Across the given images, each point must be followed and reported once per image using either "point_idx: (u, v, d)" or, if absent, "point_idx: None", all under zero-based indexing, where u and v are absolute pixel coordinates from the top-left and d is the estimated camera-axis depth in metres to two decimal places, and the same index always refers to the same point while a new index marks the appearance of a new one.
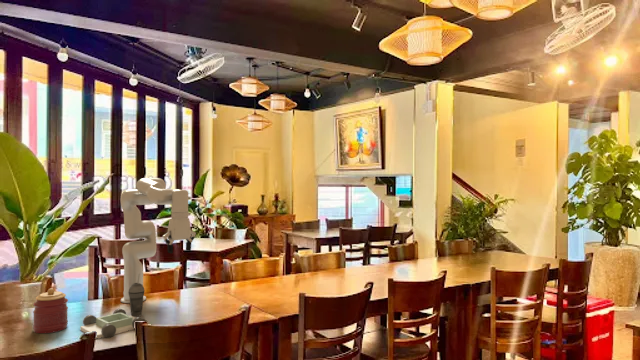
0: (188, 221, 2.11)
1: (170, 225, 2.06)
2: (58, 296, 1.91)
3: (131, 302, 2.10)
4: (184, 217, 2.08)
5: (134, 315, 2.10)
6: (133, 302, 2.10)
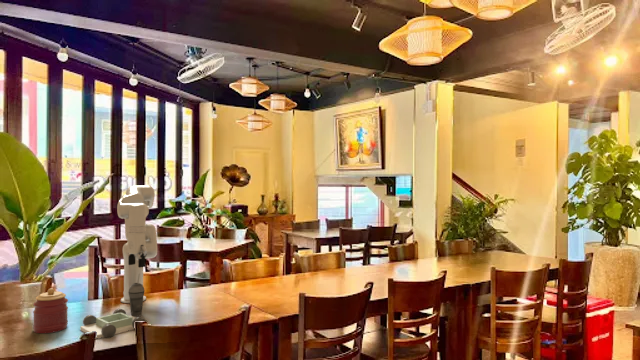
0: None
1: (142, 240, 2.10)
2: (58, 296, 1.91)
3: (131, 302, 2.10)
4: None
5: (134, 315, 2.10)
6: (133, 302, 2.10)
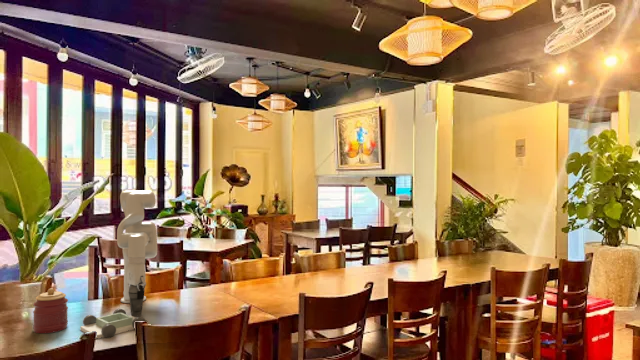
0: None
1: (142, 270, 2.10)
2: (58, 296, 1.91)
3: (131, 302, 2.10)
4: None
5: (134, 315, 2.10)
6: (133, 302, 2.10)
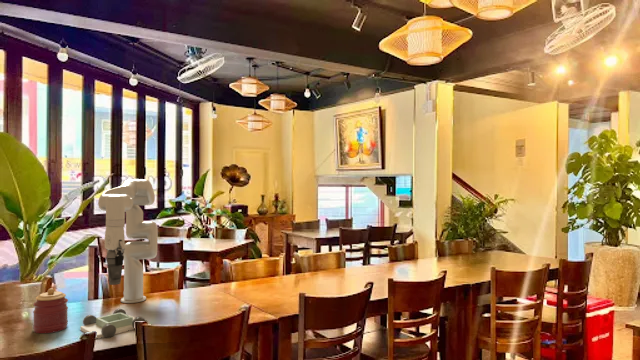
0: None
1: (121, 234, 1.92)
2: (58, 296, 1.91)
3: (109, 268, 1.92)
4: None
5: (112, 283, 1.93)
6: (111, 268, 1.92)
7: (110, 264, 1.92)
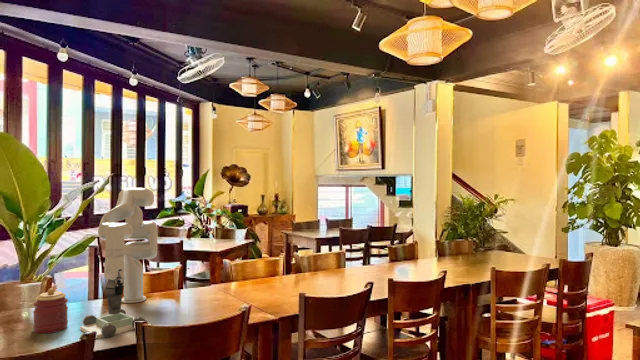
0: None
1: (120, 264, 1.92)
2: (58, 296, 1.91)
3: (109, 298, 1.92)
4: None
5: (112, 312, 1.93)
6: (111, 298, 1.92)
7: (110, 294, 1.92)
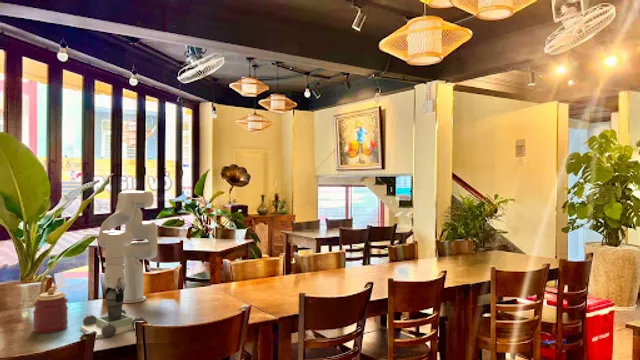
0: None
1: (120, 272, 1.92)
2: (58, 296, 1.91)
3: (109, 310, 1.92)
4: None
5: None
6: (111, 310, 1.92)
7: (110, 305, 1.92)
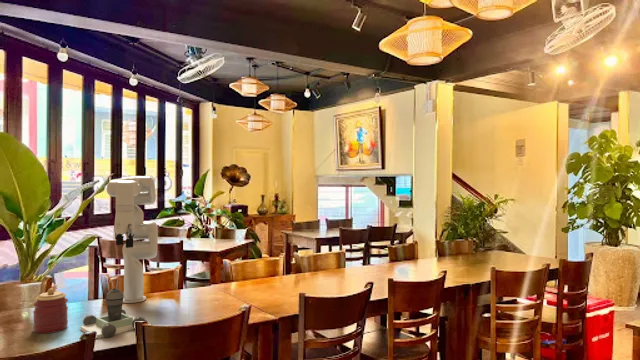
0: None
1: (130, 219, 1.99)
2: (58, 296, 1.91)
3: (109, 310, 1.92)
4: None
5: None
6: (111, 310, 1.92)
7: (110, 305, 1.92)
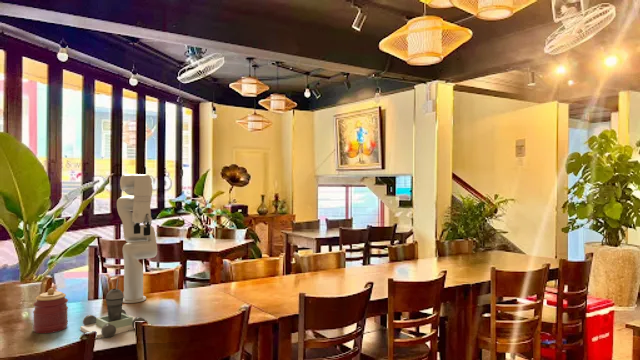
0: None
1: (147, 209, 2.15)
2: (58, 296, 1.91)
3: (109, 310, 1.92)
4: None
5: None
6: (111, 310, 1.92)
7: (110, 305, 1.92)
